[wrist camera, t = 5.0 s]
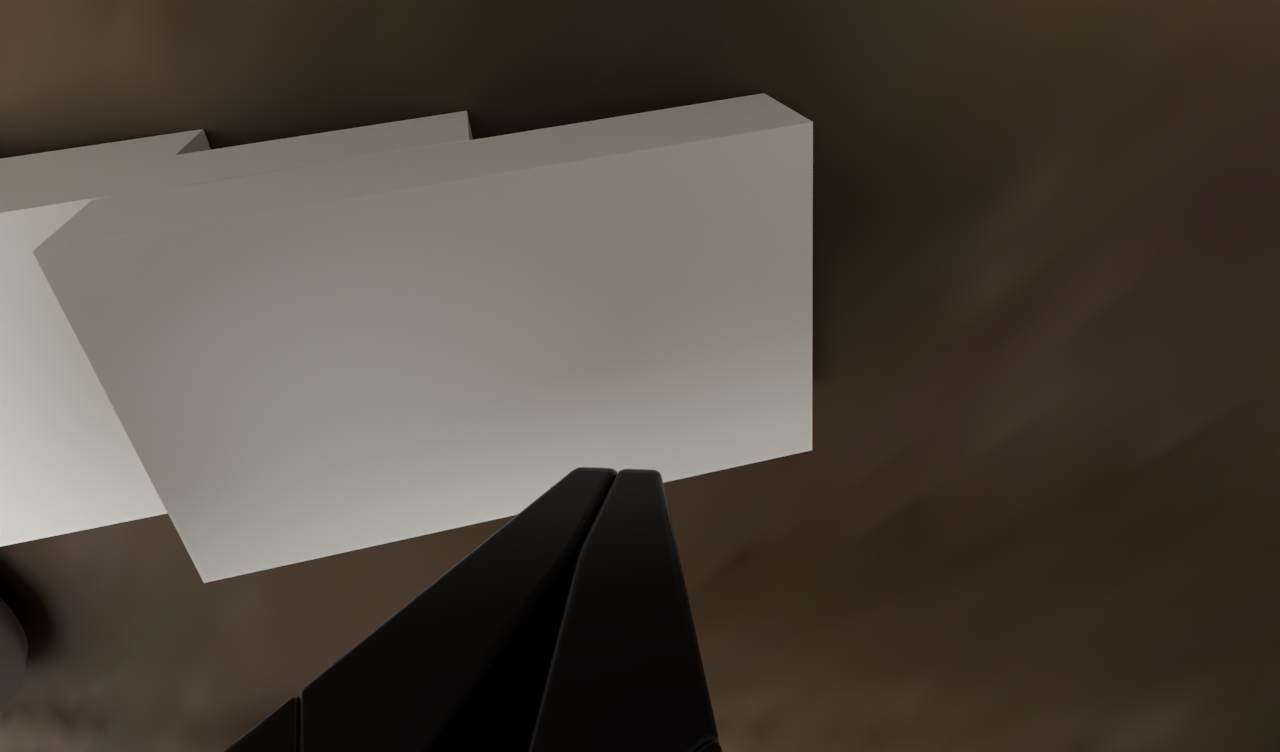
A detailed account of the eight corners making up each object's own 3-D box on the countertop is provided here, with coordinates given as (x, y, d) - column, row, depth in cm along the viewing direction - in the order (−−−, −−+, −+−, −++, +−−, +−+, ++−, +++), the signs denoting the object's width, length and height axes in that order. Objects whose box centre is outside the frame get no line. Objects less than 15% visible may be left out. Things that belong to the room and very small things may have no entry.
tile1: (812, 121, 10) (32, 251, 9) (812, 450, 13) (204, 582, 12) (763, 93, 12) (90, 200, 11) (772, 391, 14) (231, 503, 13)
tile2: (469, 140, 11) (-266, 254, 10) (532, 440, 14) (-49, 556, 13) (467, 110, 13) (-171, 207, 12) (524, 386, 15) (6, 485, 14)
